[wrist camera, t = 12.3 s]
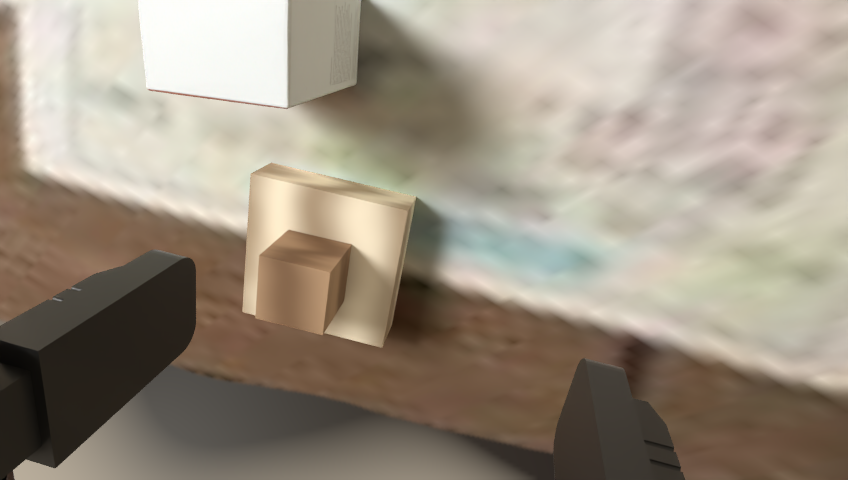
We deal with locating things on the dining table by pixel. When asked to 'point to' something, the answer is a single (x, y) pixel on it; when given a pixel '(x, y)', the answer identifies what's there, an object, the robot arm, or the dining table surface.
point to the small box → (250, 48)
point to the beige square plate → (341, 221)
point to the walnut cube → (302, 281)
